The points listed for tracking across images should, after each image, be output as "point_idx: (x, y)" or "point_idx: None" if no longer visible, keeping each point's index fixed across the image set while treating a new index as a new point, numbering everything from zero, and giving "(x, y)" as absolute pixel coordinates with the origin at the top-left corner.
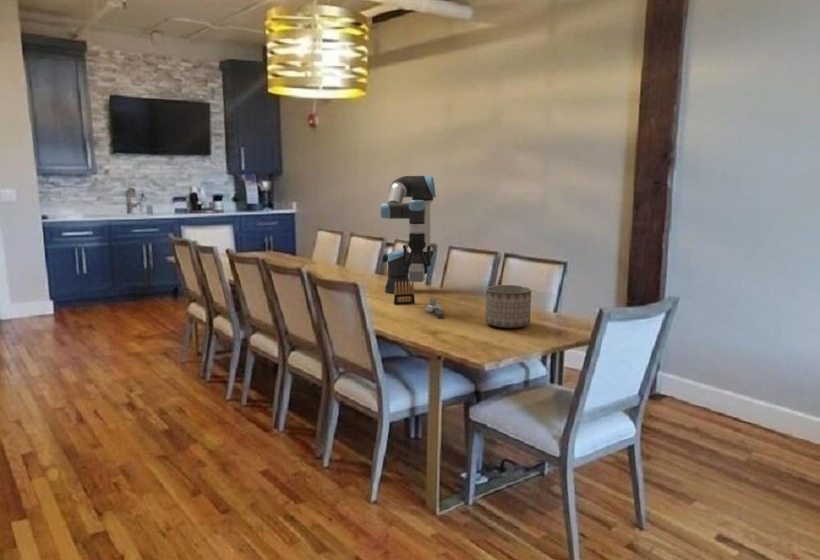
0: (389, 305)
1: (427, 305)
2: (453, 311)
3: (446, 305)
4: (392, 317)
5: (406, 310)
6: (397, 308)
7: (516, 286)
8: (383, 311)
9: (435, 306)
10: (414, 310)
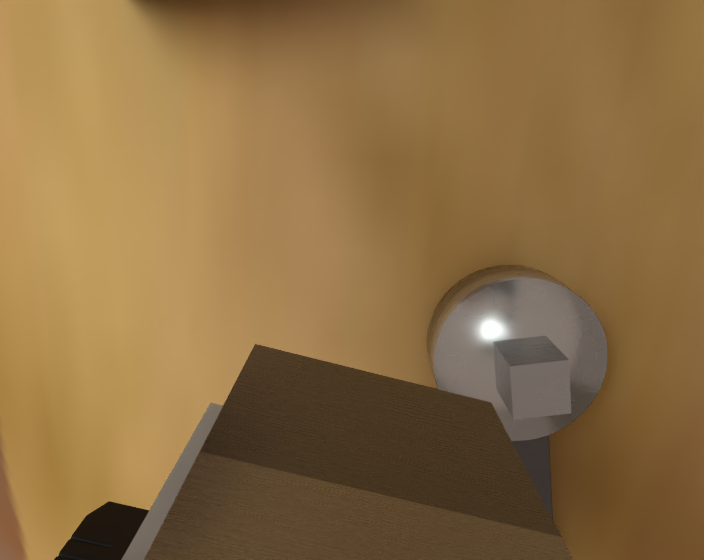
0: (67, 33)
1: (457, 374)
2: (690, 363)
3: (694, 80)
4: None
5: (251, 290)
6: (161, 194)
7: None
8: (33, 315)
9: (531, 425)
10: (328, 295)
